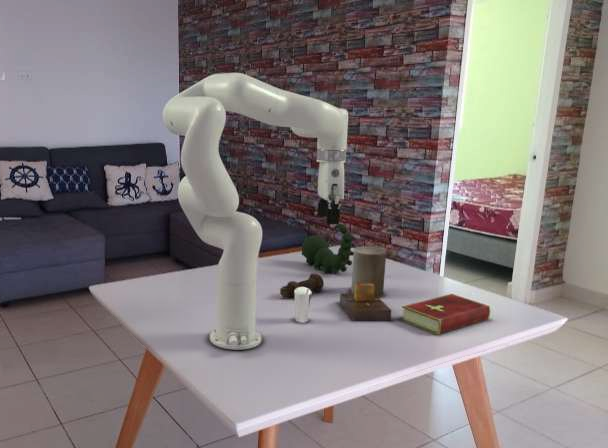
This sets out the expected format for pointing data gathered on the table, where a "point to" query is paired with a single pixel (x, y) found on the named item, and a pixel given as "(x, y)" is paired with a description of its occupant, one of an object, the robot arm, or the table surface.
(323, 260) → the toy figurine
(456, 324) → the hardcover book
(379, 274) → the pillar candle
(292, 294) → the bolt
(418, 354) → the table surface
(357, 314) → the lock plate
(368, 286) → the thumbturn
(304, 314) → the milkshake
